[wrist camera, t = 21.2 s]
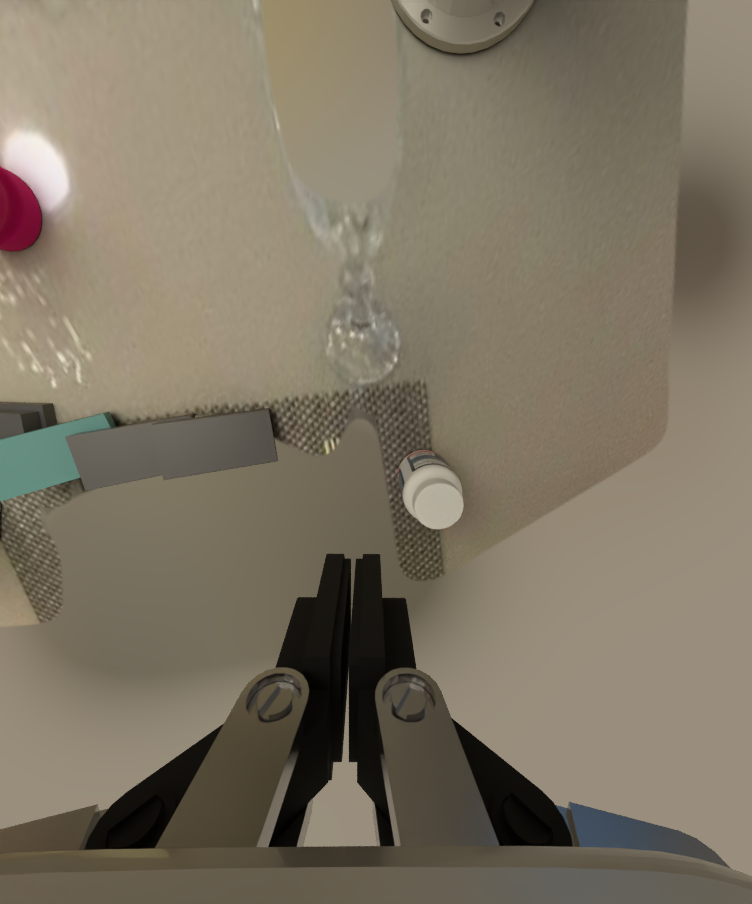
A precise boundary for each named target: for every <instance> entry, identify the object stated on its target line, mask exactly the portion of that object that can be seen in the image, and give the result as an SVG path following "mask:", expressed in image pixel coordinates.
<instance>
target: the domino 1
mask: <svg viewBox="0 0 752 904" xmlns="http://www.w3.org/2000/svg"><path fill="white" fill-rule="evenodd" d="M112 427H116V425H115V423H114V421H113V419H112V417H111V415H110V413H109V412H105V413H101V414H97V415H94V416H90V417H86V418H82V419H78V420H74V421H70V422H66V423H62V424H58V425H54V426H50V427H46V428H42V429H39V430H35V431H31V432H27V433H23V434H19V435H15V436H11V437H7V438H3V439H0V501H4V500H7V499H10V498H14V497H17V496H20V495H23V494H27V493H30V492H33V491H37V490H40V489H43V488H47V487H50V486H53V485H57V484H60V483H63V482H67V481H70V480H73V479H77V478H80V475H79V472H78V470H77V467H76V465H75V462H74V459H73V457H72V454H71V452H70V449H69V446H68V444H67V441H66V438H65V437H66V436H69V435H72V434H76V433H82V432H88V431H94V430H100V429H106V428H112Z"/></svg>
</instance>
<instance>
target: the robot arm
mask: <svg viewBox="0 0 752 904" xmlns="http://www.w3.org/2000/svg"><path fill="white" fill-rule="evenodd" d="M391 1H392V3H393V6H394V8H395V10H396V11H397V13H398V14H399V16H400V17H401V19H402V21H403V22H404V24H405V25H406V26H407V27H408V28H409V29H410V30H411V31H412V32H413V33H414V34H415V35H416V36H417V37H418V38H420V39H421V40H423V41H424V42H425V43H427V44H428V45H430V46H432V47H435V48H437V49H440V50H442V51H446V52H452V53H458V54H459V53H471V52H476V51H479V50H482V49H486V48H489V47H490V46H492V45H494V44H496V43H497V42H499V41H501V40H502V39H504V38H505V37H506V36H507V35H508V34H509V33H511V32H512V31H513V30H514V29H515V28H516V27H517V26H518V25H519V23H520V22H521V21H522V19H523V18H524V17H525V16H526V14H527V13H528V11H529V10H530V8H531V6H532V4H533V2H534V1H535V0H391ZM348 670H349V762H357V783H358V784H359V785H360V786H361V787H362V789H363V790H364V791H365V792H366V793H367V795H368V796H369V797H370V798H371V799H372V801H373V817H374V825H375V833H376V840H377V846H363V847H362V846H361V847H360V846H352V847H351V846H350V847H349V846H347V847H303V844H304V840H305V836H306V832H307V828H308V824H309V820H310V816H311V812H312V804H313V798H314V797H315V795H316V794H317V793H318V792H319V791H320V790H321V789H322V788H323V787H324V786H325V785H326V784H327V783H328V780H332V770H333V762H342V754H343V740H344V725H345V712H346V711H345V710H346V698H347V684H348ZM0 904H752V876H749V875H747V874H744V873H742V872H739V871H736V870H733V869H731V868H730V867H729V866H728V865H727V864H726V863H725V862H724V861H723V860H722V859H721V858H720V857H719V856H718V855H717V854H716V853H715V852H714V851H713V850H712V849H710V848H709V847H708V846H706V845H705V844H703V843H702V842H701V841H699V840H698V839H696V838H694V837H692V836H690V835H687V834H685V833H683V832H681V831H678V830H674V829H670V828H667V827H663V826H659V825H655V824H651V823H647V822H644V821H640V820H636V819H632V818H628V817H625V816H621V815H617V814H613V813H609V812H606V811H602V810H598V809H594V808H591V807H587V806H583V805H579V804H575V803H572V802H569V804H568V808H564V807H561V806H557V805H555V804H554V803H553V802H552V800H550V799H549V798H548V797H547V796H546V795H545V794H544V793H543V792H542V791H541V790H540V789H539V788H538V787H536V786H535V785H534V784H533V783H531V782H530V781H529V780H528V779H527V778H525V777H524V776H523V775H522V774H520V773H519V772H518V771H516V770H515V769H514V768H513V767H512V766H510V765H509V764H508V763H507V762H505V761H504V760H503V759H502V758H501V757H499V756H498V755H497V754H496V753H494V752H493V751H492V750H490V749H489V748H488V747H487V746H486V745H484V744H483V743H482V742H481V741H479V740H478V739H477V738H476V737H474V736H473V735H472V734H471V733H469V732H468V731H467V730H466V729H464V728H463V727H462V726H461V725H459V724H458V723H457V722H456V721H454V720H453V719H452V718H451V716H450V713H449V711H448V708H447V705H446V703H445V700H444V698H443V695H442V692H441V690H440V688H439V687H438V685H437V683H436V682H435V681H434V680H433V679H432V678H431V677H430V676H429V675H427V674H426V673H424V672H422V671H420V670H417V669H416V663H415V657H414V650H413V643H412V637H411V630H410V623H409V617H408V610H407V604H406V599H405V598H382V584H381V564H380V554H363V559H356V567H355V580H354V594H353V608H352V621H351V559H344V554H327V555H326V559H325V563H324V568H323V572H322V576H321V581H320V585H319V589H318V594H317V597H313V598H312V597H299V598H297V601H296V604H295V607H294V610H293V614H292V617H291V620H290V623H289V626H288V629H287V633H286V636H285V639H284V642H283V646H282V649H281V652H280V655H279V658H278V662H277V665H276V668H274V669H270V670H266V671H265V672H263V673H261V674H259V675H257V676H256V677H255V678H253V679H252V680H251V681H250V682H249V683H248V684H247V685H246V687H245V688H244V690H243V691H242V692H241V694H240V696H239V698H238V700H237V701H236V703H235V705H234V707H233V709H232V710H231V712H230V714H229V716H228V718H227V719H226V721H225V723H224V724H223V725H221V726H220V727H219V728H217V729H216V730H214V731H213V732H211V733H210V734H208V735H207V736H206V737H204V738H203V739H201V740H200V741H199V742H197V743H196V744H194V745H193V746H191V747H190V748H189V749H187V750H186V751H184V752H183V753H182V754H180V755H179V756H177V757H176V758H174V759H173V760H172V761H170V762H169V763H167V764H166V765H165V766H163V767H162V768H160V769H159V770H158V771H156V772H155V773H153V774H152V775H150V776H149V777H148V778H146V779H145V780H143V781H142V782H141V783H139V784H138V785H136V786H135V787H133V788H132V789H131V790H129V791H128V792H127V793H125V794H124V795H123V796H122V797H121V798H119V799H118V800H117V801H116V802H115V803H113V804H112V805H111V806H110V808H109V809H105V810H101V811H99V808H98V804H97V805H93V806H90V807H85V808H81V809H78V810H74V811H70V812H66V813H62V814H58V815H54V816H50V817H46V818H43V819H39V820H35V821H31V822H27V823H23V824H19V825H15V826H11V827H7V828H4V829H0Z"/></svg>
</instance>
